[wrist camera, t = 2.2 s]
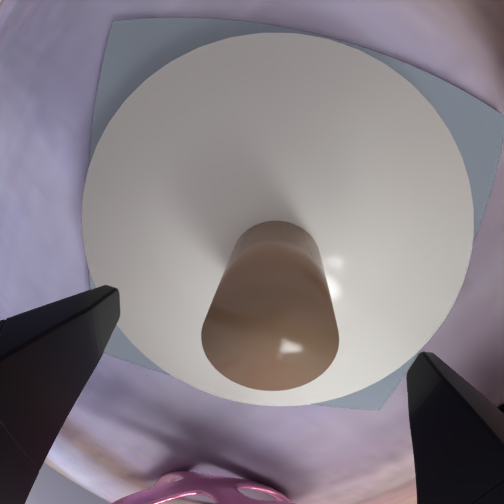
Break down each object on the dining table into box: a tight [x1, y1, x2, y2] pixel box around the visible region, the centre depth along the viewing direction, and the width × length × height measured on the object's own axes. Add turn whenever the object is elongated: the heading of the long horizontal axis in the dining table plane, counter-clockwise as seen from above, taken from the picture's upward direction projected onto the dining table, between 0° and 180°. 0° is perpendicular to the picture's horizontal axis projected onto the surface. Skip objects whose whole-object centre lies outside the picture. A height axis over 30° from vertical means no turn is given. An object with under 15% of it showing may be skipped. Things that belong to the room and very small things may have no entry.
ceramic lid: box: [81, 33, 474, 406], centre depth 10 cm, size 18×18×6 cm
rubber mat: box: [88, 17, 504, 410], centre depth 13 cm, size 19×19×1 cm
